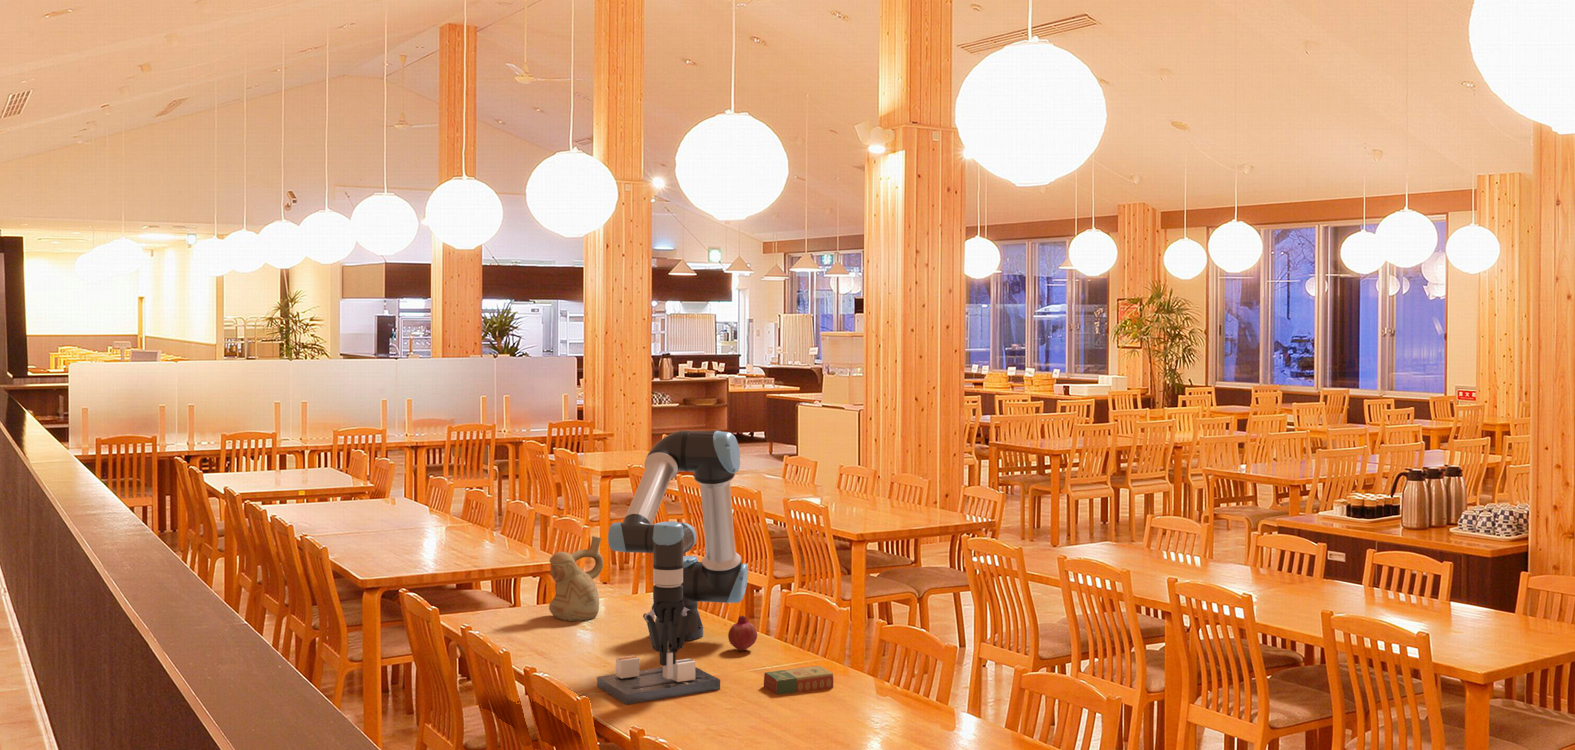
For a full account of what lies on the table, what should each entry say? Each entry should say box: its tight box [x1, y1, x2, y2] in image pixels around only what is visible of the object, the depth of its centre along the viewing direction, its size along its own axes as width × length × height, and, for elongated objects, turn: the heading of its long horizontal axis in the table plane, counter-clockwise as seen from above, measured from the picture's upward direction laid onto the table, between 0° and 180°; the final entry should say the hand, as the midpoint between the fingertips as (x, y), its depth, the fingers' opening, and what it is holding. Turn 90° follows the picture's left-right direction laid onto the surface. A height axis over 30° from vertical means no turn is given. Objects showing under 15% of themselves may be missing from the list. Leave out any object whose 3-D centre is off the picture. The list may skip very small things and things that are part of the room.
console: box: [596, 666, 721, 705], centre depth 324 cm, size 26×18×3 cm
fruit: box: [727, 615, 758, 652], centre depth 362 cm, size 8×8×10 cm
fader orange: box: [615, 655, 640, 679], centre depth 325 cm, size 5×4×5 cm
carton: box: [763, 665, 834, 696], centre depth 326 cm, size 8×16×4 cm, turn 114°
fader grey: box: [672, 658, 696, 682], centre depth 322 cm, size 5×4×5 cm
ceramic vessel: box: [548, 535, 604, 622], centre depth 402 cm, size 17×20×25 cm
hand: (667, 677), depth 320 cm, fingers closed
